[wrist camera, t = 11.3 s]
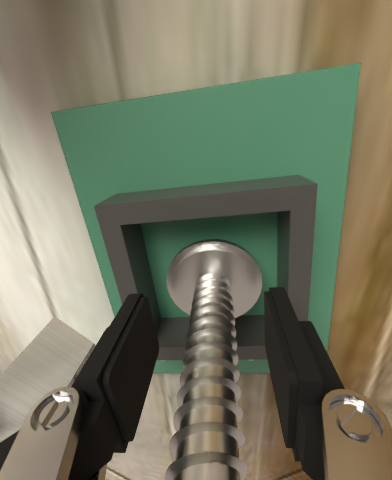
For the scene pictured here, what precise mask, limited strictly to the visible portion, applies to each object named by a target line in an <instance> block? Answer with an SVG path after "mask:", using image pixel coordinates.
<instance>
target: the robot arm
mask: <svg viewBox="0 0 392 480" xmlns="http://www.w3.org/2000/svg"><path fill="white" fill-rule="evenodd" d="M264 324H265V349H266V355H267V360H268V365H269V369H270V374H271V379H272V384H273V389H274V393H275V398H276V403H277V408H278V413H279V418H280V422H281V427H282V432H283V437H284V442H285V446H286V448H292V449H293V453H294V458H295V461H301V465H302V469H303V471H304V472H305V473H306V474H307V475H308V476H309V477H310V478H311V479H313V480H392V428H391V425H390V423H389V421H388V419H387V417H386V415H385V414H384V413H383V412H382V410H381V409H380V408H379V407H378V406H377V405H376V404H375V403H374V402H372V401H371V400H370V399H369V398H367V397H365V396H363V395H362V394H360V393H357V392H354V391H351V390H346V389H345V388H344V386H343V384H342V382H341V380H340V378H339V376H338V374H337V372H336V370H335V368H334V366H333V364H332V362H331V360H330V358H329V356H328V354H327V352H326V350H325V348H324V346H323V343H322V341H321V339H320V337H319V335H318V333H317V331H316V329H315V327H314V325H313V323H312V322H311V321H298V319H297V316H296V314H295V311H294V309H293V307H292V304H291V302H290V299H289V297H288V295H287V292H286V290H285V288H284V287H270V288H269V291H264ZM158 354H159V342H158V337H157V333H156V329H155V325H154V320H153V316H152V312H151V308H150V303H149V299H148V297H144V295H143V294H142V293H137V294H129V295H128V296H127V298H126V299H125V301H124V303H123V304H122V306H121V308H120V309H119V311H118V313H117V315H116V316H115V318H114V320H113V321H112V323H111V325H110V326H109V327H107V329H106V330H105V331H104V333H103V335H102V336H101V338H100V340H99V341H98V343H97V345H96V347H95V348H94V350H93V352H92V353H91V355H90V357H89V358H88V360H87V362H86V363H85V365H84V367H83V368H82V370H81V372H80V373H79V375H78V377H77V378H76V380H75V382H74V383H73V385H72V387H68V386H67V387H60V388H57V389H54V390H52V391H50V392H49V393H47V394H45V395H44V396H43V397H42V398H40V399H39V400H38V401H37V402H36V403H35V404H34V405H33V407H32V408H31V409H30V411H29V412H28V414H27V416H26V418H25V420H24V422H23V424H22V426H21V428H20V430H18V431H17V432H15V433H14V434H12V435H11V436H9V437H8V438H6V439H5V440H3V441H2V442H0V480H105V475H106V468H107V463H108V462H109V461H110V460H111V458H112V456H113V453H114V452H115V453H125V452H126V448H127V445H128V442H129V441H133V439H134V436H135V433H136V430H137V426H138V423H139V419H140V416H141V413H142V409H143V406H144V402H145V399H146V395H147V392H148V388H149V385H150V381H151V378H152V374H153V371H154V368H155V364H156V361H157V357H158Z"/></svg>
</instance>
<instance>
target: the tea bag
mask: <svg viewBox="0 0 392 480" xmlns="http://www.w3.org/2000/svg"><path fill="white" fill-rule="evenodd" d="M93 344H94V343H93V342H92V341H90V340H89V339H87V338H86V337H84V336H83V335H81V334H80V333H78V332H77V331H75V330H74V329H72V328H71V327H69V326H68V325H66V324H65V323H64V322H62V321H61V320H59V319H58V318H56V317H54V318H53V319H52V320H51V321H50V322H49V323H48V325H47V326H46V327H45V328H44V329H43V330H42V331H41V332H40V333H39V334H38V335H37V336H36V338H35V339H34V340H33V341H32V342H31V343H30V344H29V345H28V346H27V347H26V348H25V349H24V351H23V352H22V353H21V354H20V355H19V356H18V357H17V358H16V359H15V360H14V361H13V362H12V364H11V365H10V366H9V367H8V368H7V369H6V370H5V371H4V372H3V373H2V374H1V376H0V442H2V441H3V440H5V439H6V438H8V437H9V436H11V435H12V434H14V433H15V432H17V431H18V430H20V428H21V426H22V424H23V422H24V420H25V418H26V416H27V414H28V412H29V411H30V409H31V408H32V407H33V405H34V404H35V403H36V402H37V401H38V400H39V399H40V398H42V397H43V396H44V395H45V394H47V393H49V392H50V391H52V390H54V389H57V388H60V387H67V386H68V384H69V383H70V381H71V380H72V378H73V376H74V375H75V373H76V371H77V370H78V368H79V367H80V365H81V363H82V362H83V360H84V358H85V357H86V355H87V353H88V352H89V350H90V349H91V347H92V345H93Z"/></svg>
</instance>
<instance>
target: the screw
mask: <svg viewBox="0 0 392 480" xmlns="http://www.w3.org/2000/svg"><path fill="white" fill-rule="evenodd" d="M166 281H167V289H168V291H169V294H170V297H171V298H172V300H173V301H174V303H175V304H176V305H177V306H178V307H179V308H180V309H181V310H182V311H184V312H185V313H187V314H188V315H190V320H189V330H188V332H187V342H186V345H185V356H184V358H183V369H184V370H183V371H182V373H181V376H180V384H181V388H180V390H179V392H178V395H177V403H178V406H179V409H178V410H177V411H176V413H175V416H174V426H175V429H176V431H177V432H176V433H175V434H174V436H173V437H172V439H171V441H170V453H171V455H172V457H173V459H174V460H175V461H174V462H173V463H172V464H171V465H170V466H169V467H168V469H167V471H166V473H165V480H240V478H242V477H244V476H245V475H246V474H247V472H248V467H247V465H246V464H245V463H244V462H243V461H241V460H240V459H239V448H241V447H242V446H243V445H244V443H245V436H244V434H243V433H242V432H241V431H240V430H238V429H237V424H238V423H239V422H240V421H241V420H242V418H243V411H242V409H241V408H240V407H239V406H238V405H237V404H236V402H237V401H238V400H239V399H240V397H241V389H240V387H239V386H238V385H237V384H236V383H237V382H238V380H239V377H240V373H239V370H238V368H237V367H236V365H237V364H238V355H237V353H236V349H237V341H236V339H235V337H236V329H235V327H234V326H235V318H237V317H239V316H241V315H243V314H244V313H246V312H247V311H248V310H249V309H251V308H252V307H253V305H254V304H255V303H256V302H257V300H258V298H259V296H260V294H261V289H262V275H261V272H260V269H259V266H258V264H257V262H256V261H255V259H254V257H253V256H252V255H251V254H250V253H249V252H248V251H247V250H246V249H244V248H243V247H241V246H239V245H238V244H236V243H233V242H230V241H227V240H221V239H204V240H200V241H197V242H193V243H191V244H190V245H188V246H186V247H184V248H183V249H182V250H181V251H179V252H178V253H177V254H176V256H175V257H174V258H173V260H172V262H171V264H170V267H169V269H168V272H167V280H166Z"/></svg>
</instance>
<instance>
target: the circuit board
mask: <svg viewBox="0 0 392 480" xmlns="http://www.w3.org/2000/svg"><path fill="white" fill-rule="evenodd" d="M360 65H361V63H358V64H352V65H345V66H339V67H333V68H326V69H320V70H314V71H307V72H301V73H295V74H289V75H282V76H276V77H270V78H263V79H257V80H251V81H244V82H238V83H232V84H226V85H219V86H213V87H207V88H200V89H194V90H188V91H181V92H175V93H169V94H163V95H156V96H150V97H144V98H137V99H131V100H125V101H119V102H112V103H106V104H100V105H93V106H87V107H81V108H74V109H68V110H62V111H56V112H51V114H52V117H53V120H54V123H55V126H56V130H57V133H58V136H59V139H60V143H61V146H62V149H63V152H64V155H65V159H66V162H67V165H68V168H69V172H70V175H71V178H72V181H73V184H74V188H75V191H76V194H77V197H78V200H79V204H80V207H81V210H82V213H83V217H84V220H85V223H86V226H87V229H88V233H89V236H90V239H91V242H92V246H93V249H94V252H95V255H96V258H97V262H98V265H99V268H100V271H101V275H102V278H103V281H104V284H105V287H106V291H107V294H108V297H109V300H110V304H111V307H112V310H113V313H114V316H116V315H117V313H118V311H119V309H120V308H121V306H122V304H123V303H124V301H125V299H126V298H127V296H128V295H129V294H137V293H142V294H143V295H144V297H148V299H149V303H150V308H151V312H152V316H153V320H154V325H155V329H156V333H157V337H158V342H159V354H158V357H157V361H156V364H155V368H154V371H153V373H182V371H183V370H184V369H183V358H184V356H185V345H186V342H187V332H188V330H189V320H190V315H188V314H187V313H185V312H184V311H182V310H181V309H180V308H179V307H178V306H177V305H176V304H175V303H174V301H173V300H172V298H171V297H170V294H169V291H168V289H167V281H166V280H167V272H168V269H169V267H170V264H171V262H172V260H173V258H174V257H175V256H176V254H177V253H178V252H179V251H181V250H182V249H183V248H184V247H186V246H188V245H190V244H191V243H193V242H197V241H200V240H204V239H221V240H227V241H230V242H233V243H236V244H238V245H239V246H241V247H243V248H244V249H246V250H247V251H248V252H249V253H250V254H251V255H252V256H253V257H254V259H255V261H256V262H257V264H258V266H259V269H260V272H261V275H262V289H261V294H260V296H259V298H258V300H257V302H256V303H255V304H254V305H253V307H252V308H251V309H249V310H248V311H247V312H246V313H244V314H243V315H241V316H239V317H237V318H235V326H234V327H235V329H236V337H235V339H236V341H237V349H236V353H237V355H238V364H237V365H236V367H237V368H238V370H239V373H270V369H269V365H268V360H267V355H266V349H265V324H264V291H269V288H270V287H284V288H285V290H286V292H287V295H288V297H289V299H290V302H291V304H292V307H293V309H294V311H295V314H296V316H297V319H298V321H311V322H312V323H313V325H314V327H315V329H316V331H317V333H318V335H319V337H320V339H321V341H322V343H323V346H324V348H325V350H326V352H327V349H328V340H329V331H330V323H331V314H332V306H333V297H334V288H335V280H336V271H337V263H338V254H339V245H340V237H341V228H342V220H343V211H344V202H345V194H346V185H347V177H348V168H349V160H350V151H351V142H352V134H353V125H354V117H355V108H356V99H357V91H358V82H359V74H360Z"/></svg>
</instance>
